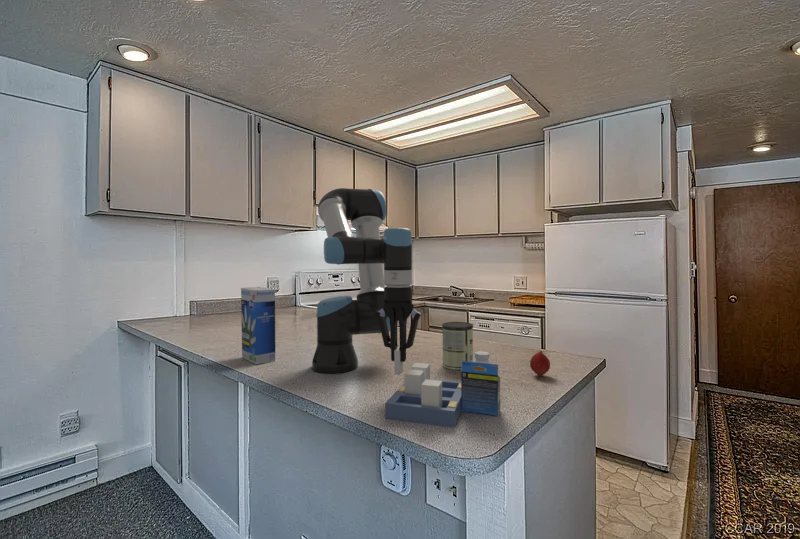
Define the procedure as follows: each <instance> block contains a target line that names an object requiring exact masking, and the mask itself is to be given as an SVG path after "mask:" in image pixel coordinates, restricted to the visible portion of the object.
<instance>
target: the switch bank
mask: <svg viewBox="0 0 800 539" xmlns="http://www.w3.org/2000/svg"><path fill="white" fill-rule="evenodd" d="M430 380H436V379H435V378H430ZM437 380H438V381H442V408H441V407H432V406H423V405H421V395H419V394H410V393H404V383H402V384H401V386H399V387H398V389H397V390H396V391H395V392H394V393H393V395H391V396H390V397H389V399H388V400H387V401H385V403H384V404H385V405H384V410H385V411H384V414H385V415H384V419H388V420H394V421H395V420H396V421H403V422H410V423H411V422H412V423H418V424H419V423H420V424H426V425H435V426H442V427H449V428H450V427H451V428H455V427H456V425H457V422H458V420H459V417H460V415H461V412H462V410H461V381H456V380H446V379H445V380H444V379H443V380H442V379H437Z"/></svg>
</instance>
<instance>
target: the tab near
mask: <svg viewBox="0 0 800 539" xmlns="http://www.w3.org/2000/svg"><path fill="white" fill-rule="evenodd" d="M438 380H439V379H435V380H427V379H425V381H424V382H423V383H422V385H421V405H423V406H432V407H441V408H442V381H438Z"/></svg>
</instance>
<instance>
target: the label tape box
mask: <svg viewBox="0 0 800 539" xmlns="http://www.w3.org/2000/svg"><path fill="white" fill-rule="evenodd" d="M478 366H480V367H481V368H485V371H482V370H474V369H473V367H478ZM460 378H461V380H460V382H461V412H465V413H472V414H473V413H474V414H480V415H481V414H482V415H488V416H494V417H499V414H500V411H501V377H500V376H499V364H497V363H496V364H495V363H492V364H487V363H478V362H469V361H462V368H461V370H460Z"/></svg>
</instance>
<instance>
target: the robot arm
mask: <svg viewBox="0 0 800 539" xmlns="http://www.w3.org/2000/svg"><path fill="white" fill-rule="evenodd" d="M317 212H318V215H319V217H320V220H322V222H323V224H324V228H325V231H326V236H327V237H326V238H325V239H324V240H323V259H324V262H325V263H327V264H331V265H338V266H339V265H354V264H357V265H358V277H359V286H360V287H359V289H360V290H359V292H358V293H357V294H356V299H353V297H352V296H351V295H343V296H342V295H340V296H339V295H338V296H334V297H328V298H325V299H321V300H320V301H319V302H318V303H317V305H316V315H315V316H316V341H317V342H316V347H315V348H316V349H315V351H314V355H313V358H312V360H311V369H312V370H313V371H314V372H317V373H321V374H341V373H342V374H343V373H347V372H351V371H354V370H355V369H357V368H358V367H359V358H358V355H357V353H356V350H355V346H354V345H353V336H354V335H356V336H357V335H358V336H359V335H369V334H370V335H371V334H381V337H382V341H383V346H384V347H385V348H388V349H390V360H391V361H392V362H394V363H393V364H394V375H395V376H396V375H397V376H398V375H399V376H401V375H402V373H404V362H406V360H407V349H410V348H412V347H413V346H414V342H415V338H416V333H417V329H418V326H419V325H418V324H419V320H420V319H421V318H422V316H423V313H422V311H419V310H418V311H417V310H416V309H415V307H414V304H413V287H412V286H411V285H413V265H412V264H413V259H412V258H413V253H412V252H413V246H412V245H413V240H412V239H413V238H412V231H411V229H410V228H405V227H389V228H385V229H384V230H383V236H382V237H380V236H381V235H380V227H381V226H382V225H383V222H384V220H386V218H387V201H386V198H385V196H384V194H383V192H381V191H380V190H378V189H371V188H367V189H366V188H365V189H362V188H343V187H341V188H335V189H332V190H330V191H329V192H327V193H326V194H325V195H323V196H322V198H321V199H320V200H319V203H318V205H317ZM349 221H350V224H351V226H350V224H349ZM351 227H352V228H353V229H355V236H354V235H353V231H352V229H351ZM410 315H411V318H412V319H411V323H410V326H409V332H408V336H407V323H408V318H409V317H410ZM398 327H399V329H398ZM398 330H399V331H398ZM398 332H399V333H398ZM398 334H399V344H398Z"/></svg>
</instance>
